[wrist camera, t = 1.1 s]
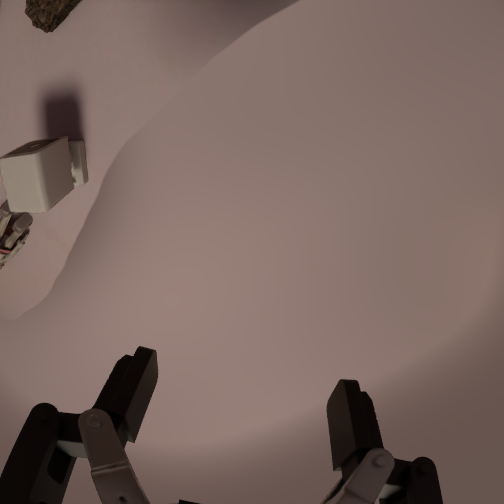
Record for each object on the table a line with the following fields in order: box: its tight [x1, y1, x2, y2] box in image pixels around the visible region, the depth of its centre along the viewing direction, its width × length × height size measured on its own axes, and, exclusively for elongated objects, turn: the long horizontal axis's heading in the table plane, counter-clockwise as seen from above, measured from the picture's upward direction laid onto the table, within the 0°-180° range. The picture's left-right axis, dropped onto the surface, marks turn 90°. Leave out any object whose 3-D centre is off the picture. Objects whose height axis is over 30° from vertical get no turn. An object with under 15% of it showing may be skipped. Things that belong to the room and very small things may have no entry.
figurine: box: [0, 200, 33, 269], centre depth 33 cm, size 6×6×20 cm
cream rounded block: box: [0, 136, 88, 212], centre depth 26 cm, size 6×7×10 cm
